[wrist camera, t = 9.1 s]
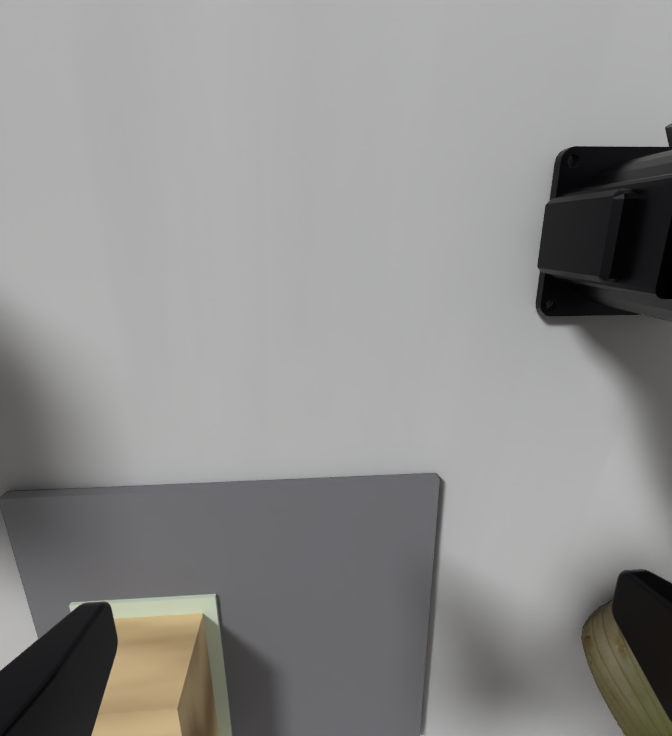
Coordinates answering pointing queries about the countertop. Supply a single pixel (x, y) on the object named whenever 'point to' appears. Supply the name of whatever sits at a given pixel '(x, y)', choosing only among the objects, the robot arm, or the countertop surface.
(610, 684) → the fennel bulb
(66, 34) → the countertop surface
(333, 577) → the mat
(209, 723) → the oak block
